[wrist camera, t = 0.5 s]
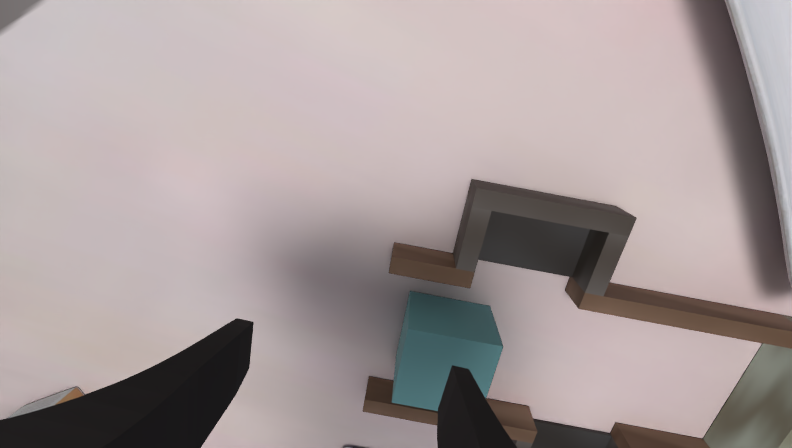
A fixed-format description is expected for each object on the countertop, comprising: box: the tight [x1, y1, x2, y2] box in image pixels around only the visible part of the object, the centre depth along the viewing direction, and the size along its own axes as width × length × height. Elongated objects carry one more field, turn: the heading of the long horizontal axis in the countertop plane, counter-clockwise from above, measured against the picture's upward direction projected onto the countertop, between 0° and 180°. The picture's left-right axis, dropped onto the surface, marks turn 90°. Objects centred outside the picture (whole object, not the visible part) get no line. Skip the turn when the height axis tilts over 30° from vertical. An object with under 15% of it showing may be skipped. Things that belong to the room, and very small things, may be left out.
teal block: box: [392, 291, 503, 411], centre depth 22 cm, size 5×5×4 cm
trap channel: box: [363, 179, 792, 448], centre depth 22 cm, size 20×24×4 cm
